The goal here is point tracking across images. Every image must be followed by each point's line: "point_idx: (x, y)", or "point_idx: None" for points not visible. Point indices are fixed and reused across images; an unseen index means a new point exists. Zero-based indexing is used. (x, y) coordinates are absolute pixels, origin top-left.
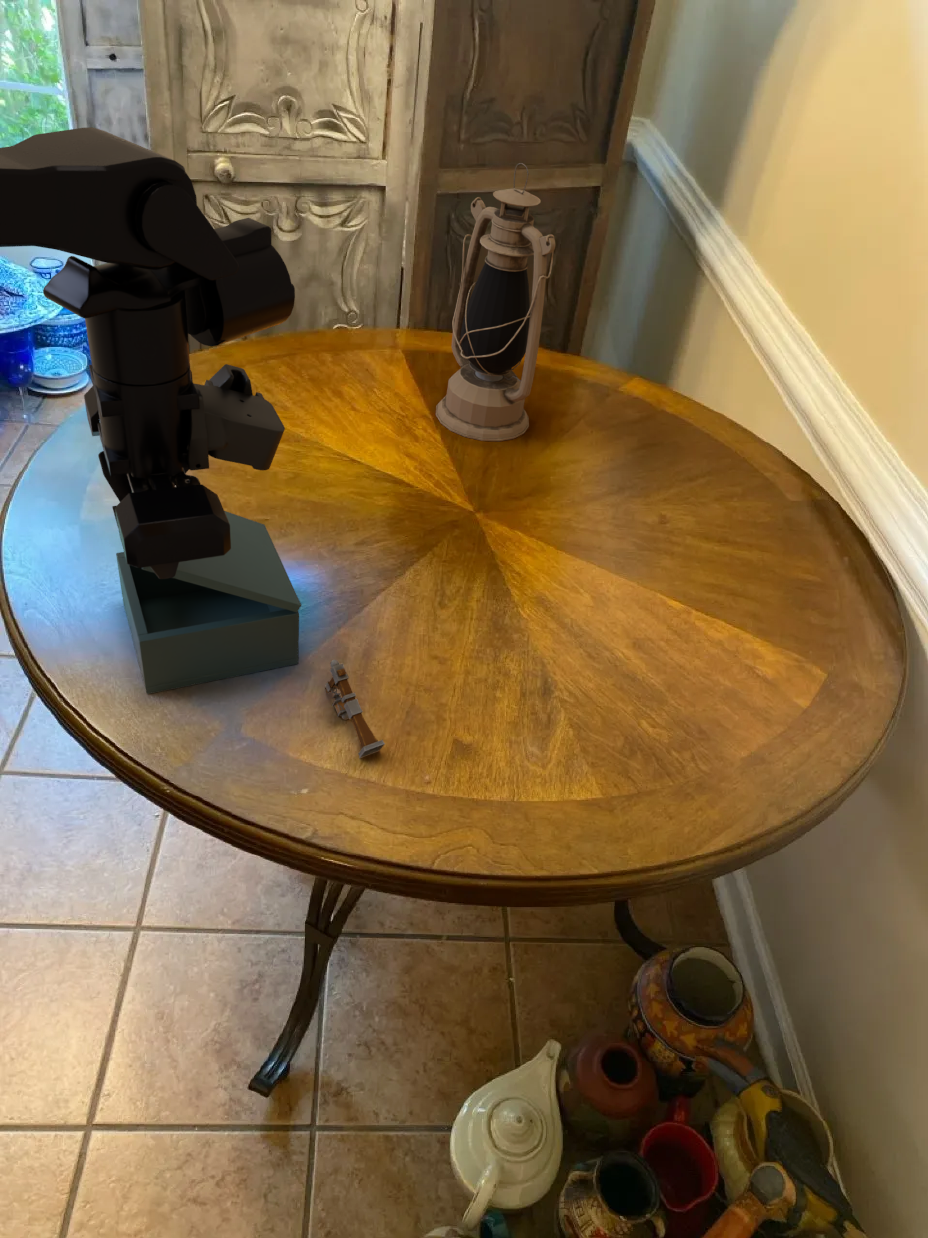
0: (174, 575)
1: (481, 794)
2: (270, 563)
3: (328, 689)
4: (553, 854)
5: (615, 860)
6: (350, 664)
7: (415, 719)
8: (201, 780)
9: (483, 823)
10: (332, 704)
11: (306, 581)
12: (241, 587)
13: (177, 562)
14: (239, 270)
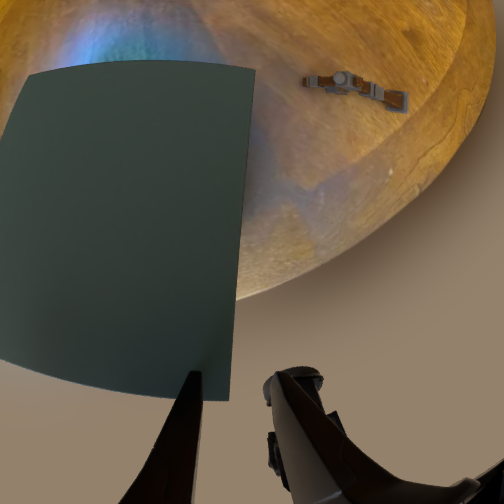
0: (287, 373)
1: (446, 64)
2: (130, 83)
3: (316, 87)
4: (483, 73)
5: (492, 53)
6: (269, 38)
7: (371, 37)
8: (337, 242)
9: (461, 84)
10: (329, 92)
11: (101, 35)
12: (242, 187)
13: (314, 403)
14: None
